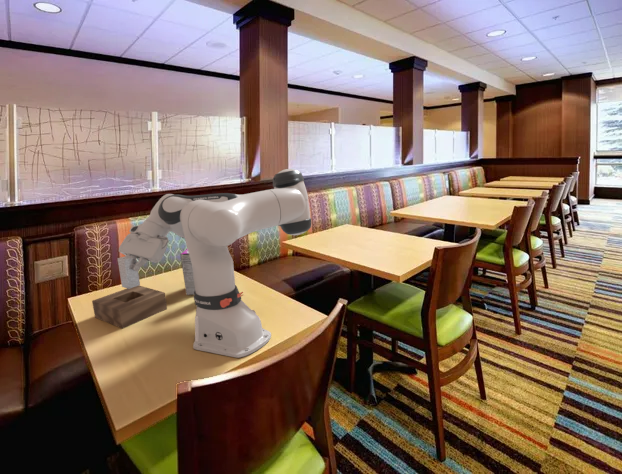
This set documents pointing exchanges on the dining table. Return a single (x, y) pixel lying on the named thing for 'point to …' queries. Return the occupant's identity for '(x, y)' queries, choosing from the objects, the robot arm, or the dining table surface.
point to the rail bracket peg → (128, 272)
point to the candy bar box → (187, 273)
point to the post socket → (129, 306)
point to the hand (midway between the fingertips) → (129, 269)
